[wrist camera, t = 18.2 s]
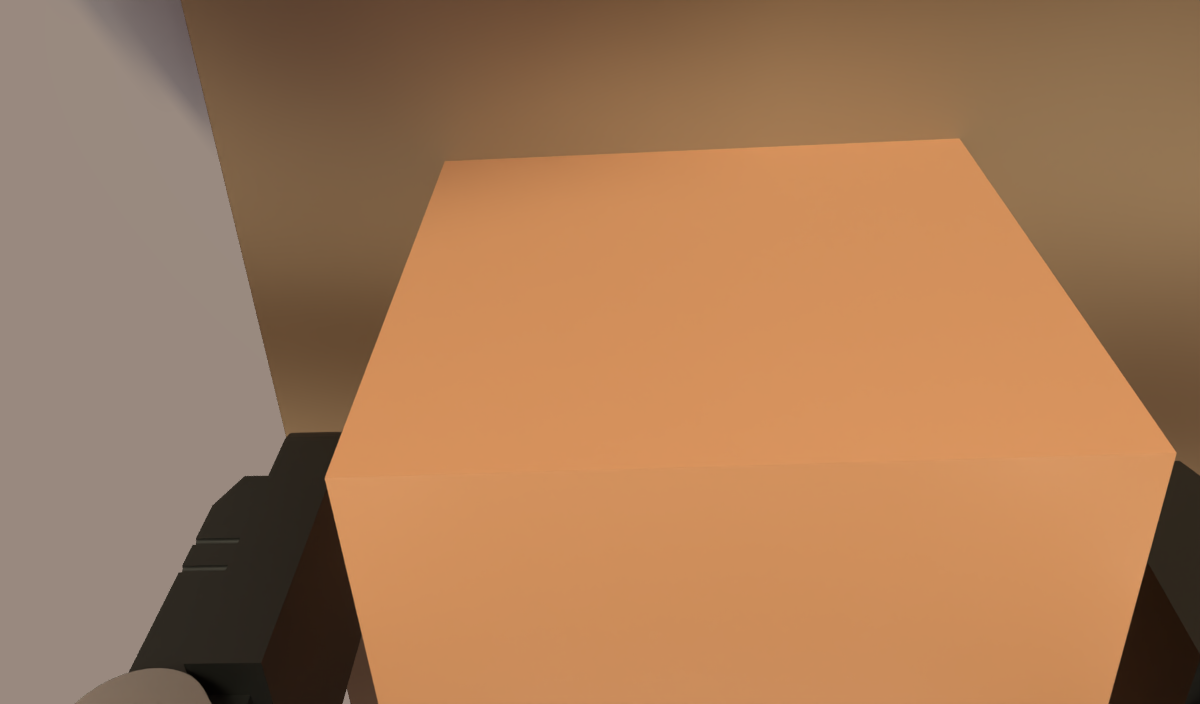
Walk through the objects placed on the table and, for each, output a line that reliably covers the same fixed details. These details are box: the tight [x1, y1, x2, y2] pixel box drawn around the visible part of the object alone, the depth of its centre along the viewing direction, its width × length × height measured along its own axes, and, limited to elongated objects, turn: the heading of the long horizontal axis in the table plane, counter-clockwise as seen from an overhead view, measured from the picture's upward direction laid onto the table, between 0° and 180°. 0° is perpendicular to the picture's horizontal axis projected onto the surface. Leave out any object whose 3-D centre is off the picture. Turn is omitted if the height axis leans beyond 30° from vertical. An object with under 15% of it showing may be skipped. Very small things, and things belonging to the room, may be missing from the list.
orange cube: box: [325, 138, 1177, 704], centre depth 12 cm, size 6×6×6 cm
